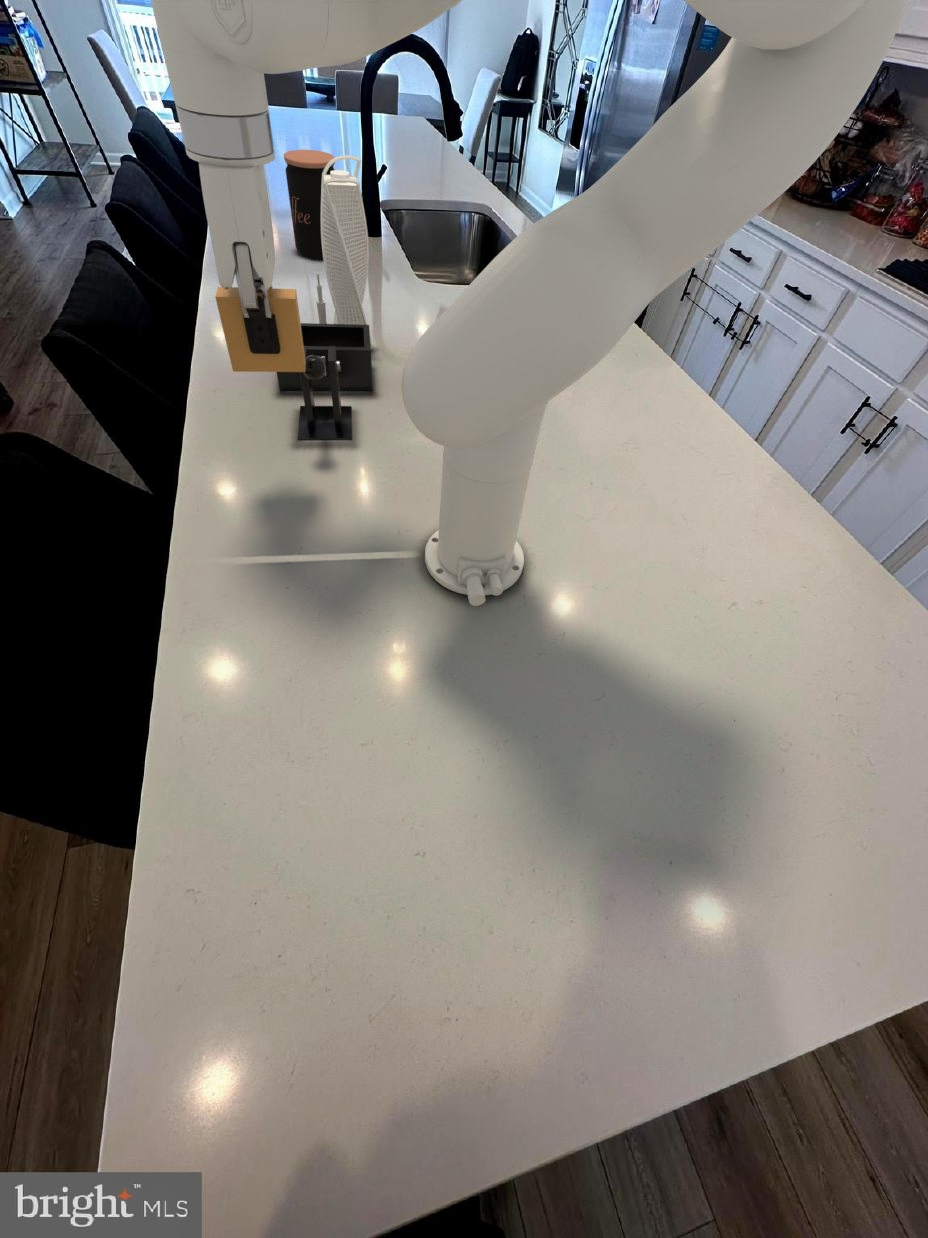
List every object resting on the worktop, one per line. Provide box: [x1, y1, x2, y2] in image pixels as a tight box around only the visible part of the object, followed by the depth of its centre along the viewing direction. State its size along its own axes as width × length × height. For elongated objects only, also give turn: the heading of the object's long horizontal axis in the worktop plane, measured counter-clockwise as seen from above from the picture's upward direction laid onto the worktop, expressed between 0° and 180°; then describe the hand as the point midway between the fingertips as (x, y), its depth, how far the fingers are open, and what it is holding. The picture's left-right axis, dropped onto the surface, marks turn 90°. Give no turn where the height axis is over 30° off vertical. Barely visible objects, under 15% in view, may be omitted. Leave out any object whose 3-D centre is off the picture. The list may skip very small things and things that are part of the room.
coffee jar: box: [283, 149, 336, 261], centre depth 125 cm, size 11×11×18 cm
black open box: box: [276, 322, 374, 393], centre depth 93 cm, size 9×15×8 cm, turn 98°
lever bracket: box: [297, 346, 353, 441], centre depth 82 cm, size 9×8×12 cm
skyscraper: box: [315, 154, 374, 351], centre depth 93 cm, size 8×8×28 cm
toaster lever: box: [303, 355, 328, 380], centre depth 76 cm, size 11×3×3 cm, turn 8°
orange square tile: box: [214, 286, 306, 373], centre depth 62 cm, size 2×8×8 cm, turn 99°
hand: (266, 344), depth 63 cm, fingers closed on orange square tile, 2 cm apart
